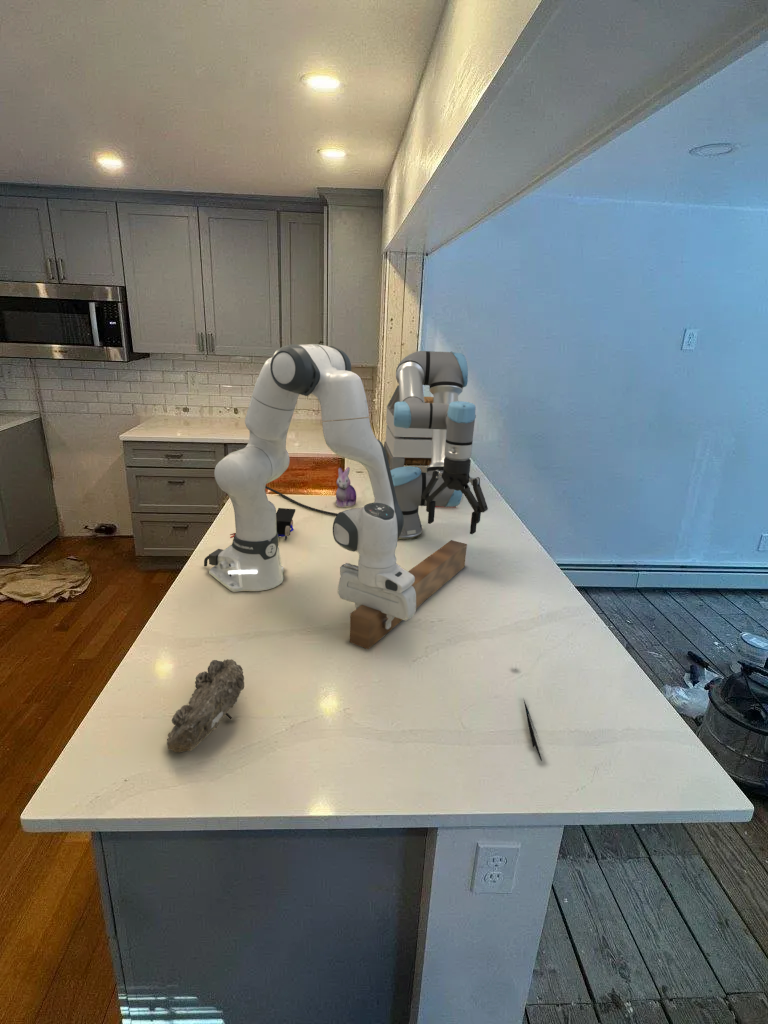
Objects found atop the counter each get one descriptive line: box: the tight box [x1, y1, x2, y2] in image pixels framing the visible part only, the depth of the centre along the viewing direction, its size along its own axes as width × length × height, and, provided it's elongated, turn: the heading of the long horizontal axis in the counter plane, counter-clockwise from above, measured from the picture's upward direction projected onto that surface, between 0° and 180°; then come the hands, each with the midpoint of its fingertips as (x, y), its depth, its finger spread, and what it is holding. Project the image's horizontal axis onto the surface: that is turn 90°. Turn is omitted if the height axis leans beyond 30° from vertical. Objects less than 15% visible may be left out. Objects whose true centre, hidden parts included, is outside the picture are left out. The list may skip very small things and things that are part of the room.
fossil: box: [166, 658, 245, 754], centre depth 106 cm, size 22×10×15 cm
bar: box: [349, 539, 468, 650], centre depth 154 cm, size 55×5×8 cm, turn 149°
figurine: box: [335, 466, 357, 508], centre depth 225 cm, size 9×10×15 cm
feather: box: [514, 668, 543, 762], centre depth 113 cm, size 2×28×2 cm
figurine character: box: [276, 507, 296, 541], centre depth 193 cm, size 7×8×15 cm
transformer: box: [383, 384, 434, 471], centre depth 268 cm, size 34×33×41 cm
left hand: (374, 623), depth 138 cm, fingers closed on bar, 5 cm apart
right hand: (451, 527), depth 167 cm, fingers open, 13 cm apart
